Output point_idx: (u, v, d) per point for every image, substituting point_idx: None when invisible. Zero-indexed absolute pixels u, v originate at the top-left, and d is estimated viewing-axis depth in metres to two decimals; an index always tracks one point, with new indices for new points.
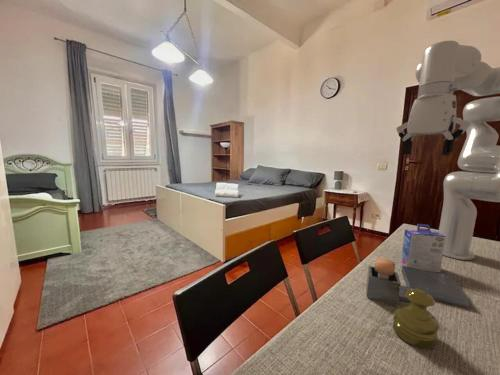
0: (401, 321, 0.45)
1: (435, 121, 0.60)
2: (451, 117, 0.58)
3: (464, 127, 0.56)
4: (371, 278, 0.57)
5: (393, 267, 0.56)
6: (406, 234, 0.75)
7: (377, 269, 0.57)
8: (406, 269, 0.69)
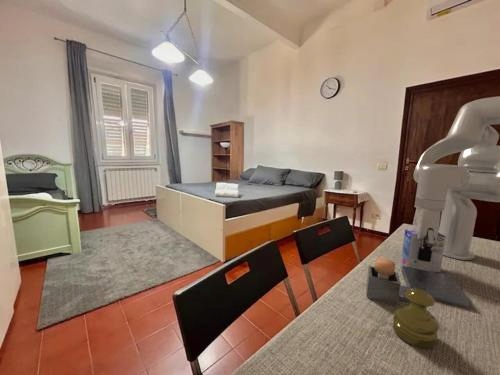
0: (401, 321, 0.45)
1: None
2: None
3: None
4: (371, 278, 0.57)
5: (393, 267, 0.56)
6: (406, 234, 0.75)
7: (377, 269, 0.57)
8: (406, 269, 0.69)
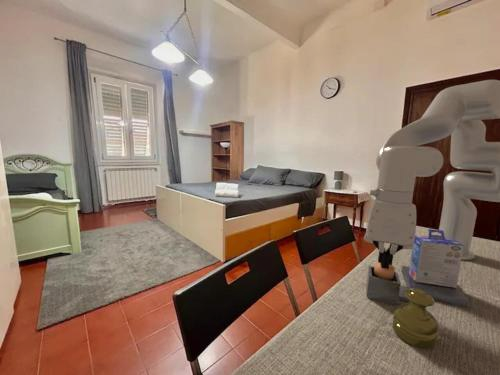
0: (401, 321, 0.45)
1: None
2: (367, 221, 0.59)
3: None
4: (371, 278, 0.57)
5: (393, 271, 0.56)
6: (415, 241, 0.64)
7: (376, 273, 0.58)
8: (406, 269, 0.69)
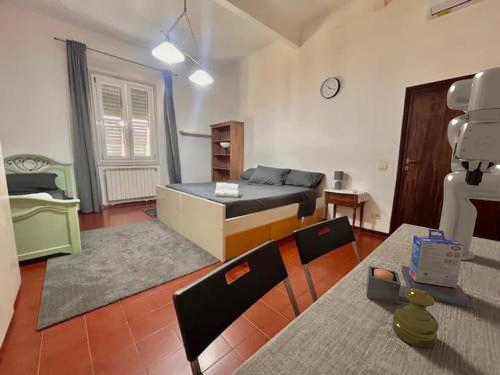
0: (401, 321, 0.45)
1: None
2: (454, 145, 0.64)
3: None
4: (371, 278, 0.57)
5: (392, 279, 0.56)
6: (415, 241, 0.64)
7: None
8: (406, 269, 0.69)
